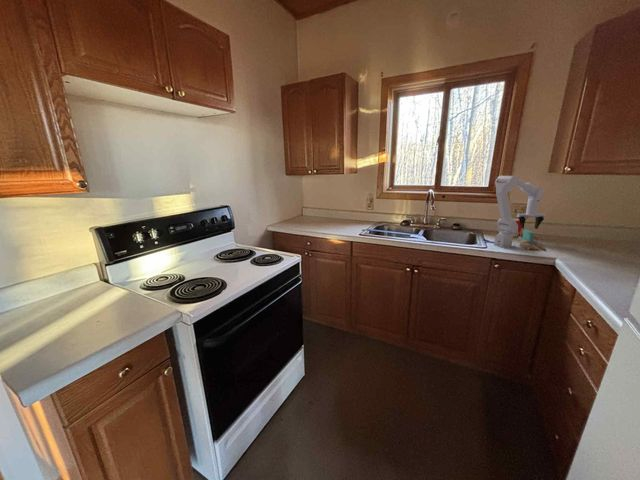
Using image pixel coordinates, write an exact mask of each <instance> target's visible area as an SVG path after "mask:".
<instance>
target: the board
mask: <svg viewBox="0 0 640 480" xmlns="http://www.w3.org/2000/svg"><path fill="white" fill-rule="evenodd" d="M522 237H523V238H524V239H525V240H527V241H533V240H534V237H535V232H533V231H532V230H528V229H524V230H523V233H522Z"/></svg>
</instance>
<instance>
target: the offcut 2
mask: <svg viewBox="0 0 640 480" xmlns="http://www.w3.org/2000/svg"><path fill="white" fill-rule="evenodd" d="M530 246H531V245H530V244H528V243H523V248H524V249H525V251H531V250H530ZM523 248H522V249H523ZM524 249H523V250H524Z"/></svg>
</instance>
